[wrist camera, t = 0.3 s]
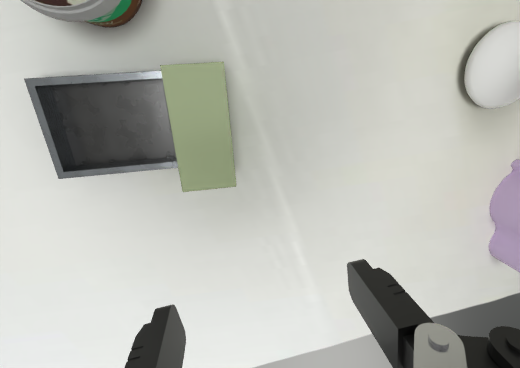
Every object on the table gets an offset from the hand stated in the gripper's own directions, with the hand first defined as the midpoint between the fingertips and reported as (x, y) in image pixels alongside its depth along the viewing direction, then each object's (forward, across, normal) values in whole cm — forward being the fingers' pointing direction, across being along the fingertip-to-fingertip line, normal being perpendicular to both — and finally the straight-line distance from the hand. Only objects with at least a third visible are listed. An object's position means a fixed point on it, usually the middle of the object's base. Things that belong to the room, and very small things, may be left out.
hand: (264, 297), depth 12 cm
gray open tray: (+28, +14, -7) cm, 32 cm away
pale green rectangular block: (+28, +3, -5) cm, 29 cm away
